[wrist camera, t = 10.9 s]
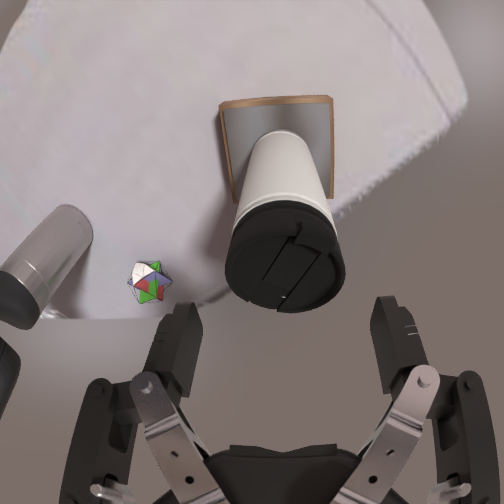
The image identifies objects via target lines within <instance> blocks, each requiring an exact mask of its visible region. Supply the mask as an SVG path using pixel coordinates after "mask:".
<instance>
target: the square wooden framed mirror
mask: <svg viewBox="0 0 504 504" xmlns="http://www.w3.org/2000/svg"><path fill="white" fill-rule="evenodd" d="M219 111H220V118H221V125H222V131H223V138H224V145H225V151H226V158H227V164H228V171H229V177H230V184H231V190H232V196H233V203H239V201H240V197H241V193H242V189H243V185H244V181H245V177H246V173H247V169H248V166H249V162H250V158H251V154H252V150H253V147H254V145H255V143H256V141H257V140H258V139H259V138H260V137H261V136H262V135H263V134H265V133H267V132H269V131H271V130H276V129H285V130H290V131H292V132H295V133H296V134H298V135H299V136H300V137H302V138H303V139H304V141H305V142H306V144H307V146H308V148H309V151H310V153H311V156H312V159H313V162H314V164H315V167H316V170H317V173H318V176H319V179H320V182H321V185H322V188H323V191H324V194H325V197H326V199H333V198H334V111H333V98H331V97H329V96H328V95H302V96H278V97H263V98H252V99H242V100H233V101H225V102H223V103H221V104H220V105H219Z"/></svg>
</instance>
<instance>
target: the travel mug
mask: <svg viewBox="0 0 504 504" xmlns="http://www.w3.org/2000/svg"><path fill="white" fill-rule="evenodd" d="M345 275H346V273H345V265H344V261H343V257H342V254H341V250H340V246H339V243H338V238H337V232H336V229H335V226H334V222H333V219H332V216H331V212H330V209H329V206H328V203H327V200H326V197H325V194H324V191H323V188H322V185H321V182H320V179H319V176H318V173H317V170H316V167H315V164H314V162H313V159H312V156H311V153H310V151H309V148H308V146H307V144H306V142H305V141H304V139H303V138H302V137H300V136H299V135H298V134H296V133H295V132H292V131H290V130H285V129H276V130H271V131H269V132H267V133H265V134H263V135H262V136H261V137H260V138H259V139H258V140H257V141H256V143H255V145H254V147H253V150H252V154H251V158H250V162H249V166H248V169H247V173H246V177H245V181H244V185H243V189H242V193H241V197H240V201H239V205H238V209H237V213H236V217H235V221H234V225H233V230H232V234H231V242H230V247H229V251H228V255H227V259H226V264H225V276H226V280H227V283H228V284H229V286H230V288H231V289H232V291H233V292H234V293H235V294H236V295H237V296H239V297H240V298H242V299H243V300H245V301H246V302H248V301H251V302H252V303H253V304H256V305H258V306H261V307H265V308H268V309H277V312H283V313H299V312H305V311H309V310H312V309H315V308H318V307H320V306H322V305H324V304H326V303H327V302H329V301H330V300H331V299H333V298H334V297H335V296H336V295H337V293H338V292H339V291H340V289H341V288H342V285H343V284H344V280H345Z"/></svg>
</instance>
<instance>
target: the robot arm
mask: <svg viewBox="0 0 504 504" xmlns="http://www.w3.org/2000/svg"><path fill="white" fill-rule="evenodd" d="M92 239H93V233H92V228H91V225H90V223H89V221H88V219H87V218H86V217H85V215H84V214H83V213H82V212H81V211H80V210H78V209H77V208H75V207H73V206H71V205H60V206H59V207H57V208H56V209H55V210H54V211H53V212H52V213H51V214H50V215H49V216H48V217H47V218H46V219H44V220H43V221H42V222H41V223H40V224H39V225H38V226H37V227H36V228H35V229H34V230H33V231H32V232H31V234H30V235H29V236H28V237H27V238H26V239H25V240H24V241H23V242H22V243H21V244H20V245H19V246H18V247H17V248H16V250H15V251H14V252H13V253H12V254H11V255H10V256H9V258H8V259H7V260H6V261H5V262H4V263H3V265H2V266H1V267H0V320H1V321H4V322H6V323H8V324H10V325H12V326H14V327H16V328H19V329H22V330H28V329H31V328H32V327H33V326H34V324H35V323H36V321H37V320H38V318H39V316H40V315H41V313H42V312H43V310H44V309H45V307H46V305H47V304H48V302H49V301H50V299H51V298H52V296H53V295H54V293H55V292H56V290H57V289H58V287H59V286H60V284H61V283H62V281H63V280H64V279H65V277H66V276H67V274H68V273H69V272H70V270H71V269H72V267H73V266H74V265H75V263H76V262H77V261H78V259H79V258H80V257H81V255H82V254H83V253H84V252H85V250H86V249H87V248H88V246H89V245H90V244H91V242H92ZM370 331H371V336H372V340H373V344H374V349H375V353H376V358H377V363H378V368H379V373H380V378H381V383H382V389H383V394H389V393H391V395H392V401H391V402H390V404H389V406H388V407H387V409H386V411H385V413H384V414H383V416H382V418H381V420H380V421H379V423H378V425H377V426H376V428H375V430H374V431H373V432H372V434H371V435H370V437H369V438H368V439H367V441H366V443H365V444H364V445H363V447H362V448H361V449H360V451H359V452H358V454H357V455H356V454H354V453H352V452H349V451H347V450H343V449H338V448H337V444H327V445H313V446H308V447H304V448H300V449H297V450H293V451H289V452H277V451H272V450H269V449H264V448H261V447H257V446H242V445H230V449H229V450H224V451H220V452H218V453H215V454H213V455H211V454H210V453H209V451H208V450H207V448H206V447H205V446H204V444H203V443H202V441H201V440H200V439H199V437H198V436H197V434H196V432H195V431H194V429H193V427H192V426H191V424H190V422H189V420H188V419H187V417H186V415H185V413H184V412H183V410H182V408H181V406H180V405H179V404H180V399H181V397H188V398H189V395H190V390H191V386H192V381H193V376H194V371H195V367H196V363H197V358H198V354H199V349H200V345H201V340H202V336H203V327H202V323H201V320H200V317H199V314H198V311H197V309H196V306H195V304H194V303H180V302H178V303H177V304H176V305H175V308H174V311H173V314H166V315H165V317H164V318H163V319H162V320H161V322H160V323H159V326H158V328H157V331H156V334H155V337H154V341H153V342H152V346H151V348H150V351H149V354H148V357H147V360H146V363H145V366H144V369H143V371H142V372H141V373H138V374H137V375H135V376H134V377H133V378H132V380H131V381H128V382H122V383H115V384H111V383H110V382H109V381H108V380H107V379H104V378H98V379H95V380H94V381H92V382H91V383H90V384H89V386H88V388H87V390H86V393H85V396H84V400H83V403H82V406H81V409H80V412H79V416H78V419H77V423H76V426H75V430H74V434H73V437H72V441H71V445H70V449H69V453H68V457H67V462H66V466H65V471H64V476H63V481H62V486H61V491H60V497H59V504H135V496H134V493H133V491H132V490H131V489H130V488H129V487H128V486H127V484H128V477H129V471H130V465H131V459H132V453H133V448H134V443H135V438H136V432H137V428H138V423H143V424H144V427H145V430H146V431H145V432H144V435H145V439H146V441H147V443H148V445H149V447H150V449H151V451H152V454H153V456H154V458H155V460H156V462H157V464H158V466H159V467H160V469H161V471H162V473H163V475H164V477H165V479H166V480H167V482H168V484H169V486H170V488H171V489H170V490H169V491H168V492H166V493H165V494H164V495H163V496H161V497H160V498H159V499H157V500H156V501H155V502H154V503H153V504H409V503H408V502H406V501H405V500H404V499H403V498H402V497H401V496H400V495H399V494H398V493H397V492H396V491H395V490H393V489H392V488H391V487H392V485H393V484H394V482H395V481H396V479H397V477H398V476H399V474H400V472H401V471H402V469H403V468H404V466H405V464H406V462H407V460H408V459H409V457H410V455H411V453H412V452H413V450H414V448H415V446H416V444H417V442H418V440H419V438H420V436H421V434H422V430H423V429H422V425H423V422H424V420H425V418H426V419H432V426H433V434H434V443H435V453H436V466H437V485H436V486H434V487H433V488H432V489H431V491H430V493H429V495H428V499H427V504H500V480H499V467H498V458H497V450H496V443H495V436H494V430H493V425H492V420H491V415H490V410H489V406H488V402H487V397H486V393H485V390H484V386H483V382H482V379H481V377H480V376H479V375H478V374H477V373H476V372H474V371H464V372H462V373H461V374H460V375H459V377H454V376H446V375H441V374H438V372H437V371H436V370H435V369H434V368H433V367H431V366H430V365H429V363H428V361H427V358H426V355H425V351H424V348H423V345H422V342H421V339H420V336H419V335H418V330H417V328H416V326H415V322H414V319H413V316H412V314H411V313H410V312H409V311H408V310H407V309H406V308H405V307H398V304H397V301H396V299H395V297H394V296H383V297H377V299H376V302H375V305H374V309H373V313H372V316H371V320H370ZM20 366H21V360H20V357H19V355H18V354H17V353H16V352H15V351H14V350H13V348H12V347H11V346H9V345H8V344H7V343H6V342H5V341H4V340H3V339H2V338H1V337H0V419H1V417H2V414H3V412H4V410H5V407H6V405H7V403H8V400H9V398H10V396H11V393H12V391H13V389H14V387H15V384H16V382H17V379H18V376H19V372H20Z"/></svg>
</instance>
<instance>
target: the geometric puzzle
mask: <svg viewBox="0 0 504 504" xmlns="http://www.w3.org/2000/svg"><path fill="white" fill-rule="evenodd" d="M150 262H152V261H150ZM159 263H160V261H158V262H156V263H154V264H151V265H149V266H147V265H146V264H144V263H137V262H136V264H135V266H134V268H133V270H132V279H133V280H132V281H130V280H129V281H130V282H129V281H128V282H127V284H130V285H132V286H133V287H135V288H137V289H139V290H140V301H138V303H139V304H143V303H144V302H146V301H149V300H152V299H155V298H157V299H159V300H161V301H163V285H165V284H167V283H170V282H171V283H170V284H172V282H173V281H171V280H170V279H168V278H166V277H165V276H163V274H162V275H161V274H160V273H159ZM160 266H161V264H160ZM162 266H163V265H162ZM161 271H162V269H161ZM167 274H168V273H167ZM129 278H130V277H129ZM170 284H169V285H170ZM169 285H168V286H169ZM170 286H171V285H170ZM134 290H135V289H134ZM131 291H132V290H131ZM135 293H136V292H135ZM134 296H135V295H134ZM136 296H137V295H136ZM135 298H136V297H135ZM137 299H138V298H137ZM157 302H159V301H157ZM149 303H151V302H149Z"/></svg>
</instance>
